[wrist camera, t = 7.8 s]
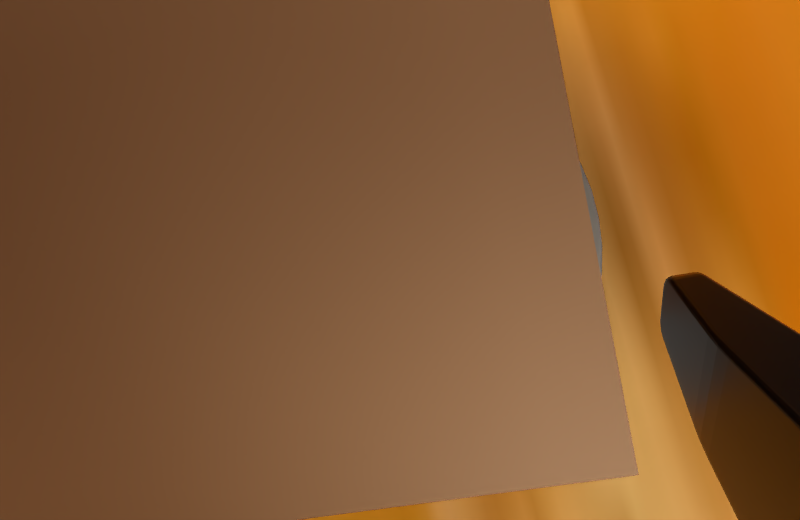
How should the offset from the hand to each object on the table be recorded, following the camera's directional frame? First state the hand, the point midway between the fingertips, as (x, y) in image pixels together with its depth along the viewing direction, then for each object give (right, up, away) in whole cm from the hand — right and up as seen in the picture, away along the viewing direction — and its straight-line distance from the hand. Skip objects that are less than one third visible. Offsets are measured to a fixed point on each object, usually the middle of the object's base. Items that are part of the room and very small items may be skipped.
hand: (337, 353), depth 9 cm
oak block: (0, +1, +8) cm, 8 cm away
